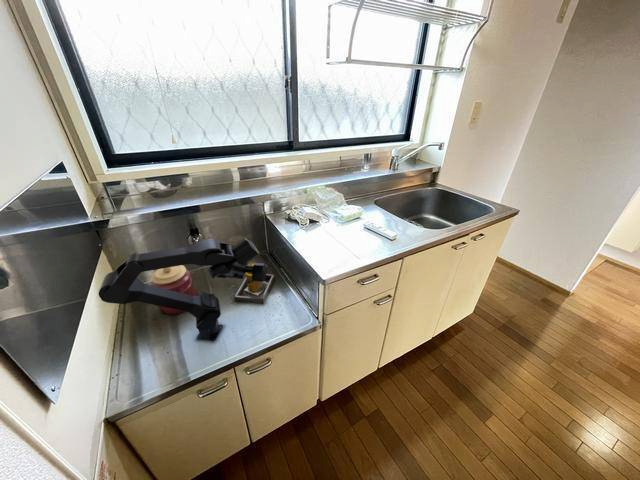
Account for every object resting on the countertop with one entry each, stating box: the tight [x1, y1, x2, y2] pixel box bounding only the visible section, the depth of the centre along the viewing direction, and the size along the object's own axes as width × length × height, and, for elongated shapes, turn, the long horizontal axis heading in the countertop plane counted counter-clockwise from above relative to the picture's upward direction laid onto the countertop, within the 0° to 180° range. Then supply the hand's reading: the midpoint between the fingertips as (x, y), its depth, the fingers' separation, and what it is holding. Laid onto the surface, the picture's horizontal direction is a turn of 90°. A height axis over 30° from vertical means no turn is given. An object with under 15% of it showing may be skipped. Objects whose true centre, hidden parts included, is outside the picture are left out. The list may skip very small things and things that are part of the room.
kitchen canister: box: [150, 265, 197, 315], centre depth 97 cm, size 13×13×18 cm
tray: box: [234, 273, 275, 305], centre depth 108 cm, size 16×12×2 cm
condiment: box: [243, 261, 269, 297], centre depth 106 cm, size 7×8×12 cm
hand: (247, 273), depth 97 cm, fingers open, 9 cm apart
